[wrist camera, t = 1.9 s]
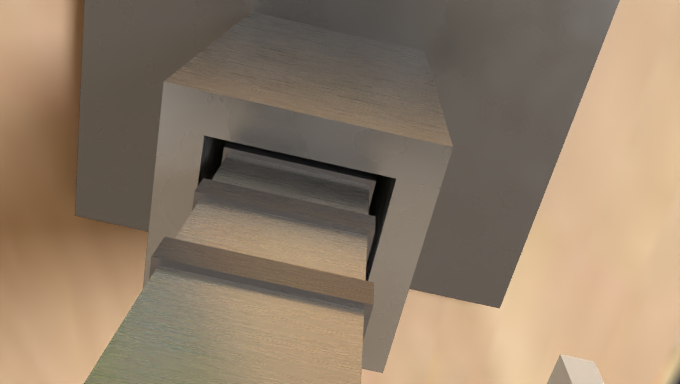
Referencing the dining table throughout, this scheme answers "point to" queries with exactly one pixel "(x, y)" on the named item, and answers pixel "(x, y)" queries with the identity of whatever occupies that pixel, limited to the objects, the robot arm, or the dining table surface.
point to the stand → (344, 120)
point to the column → (256, 281)
